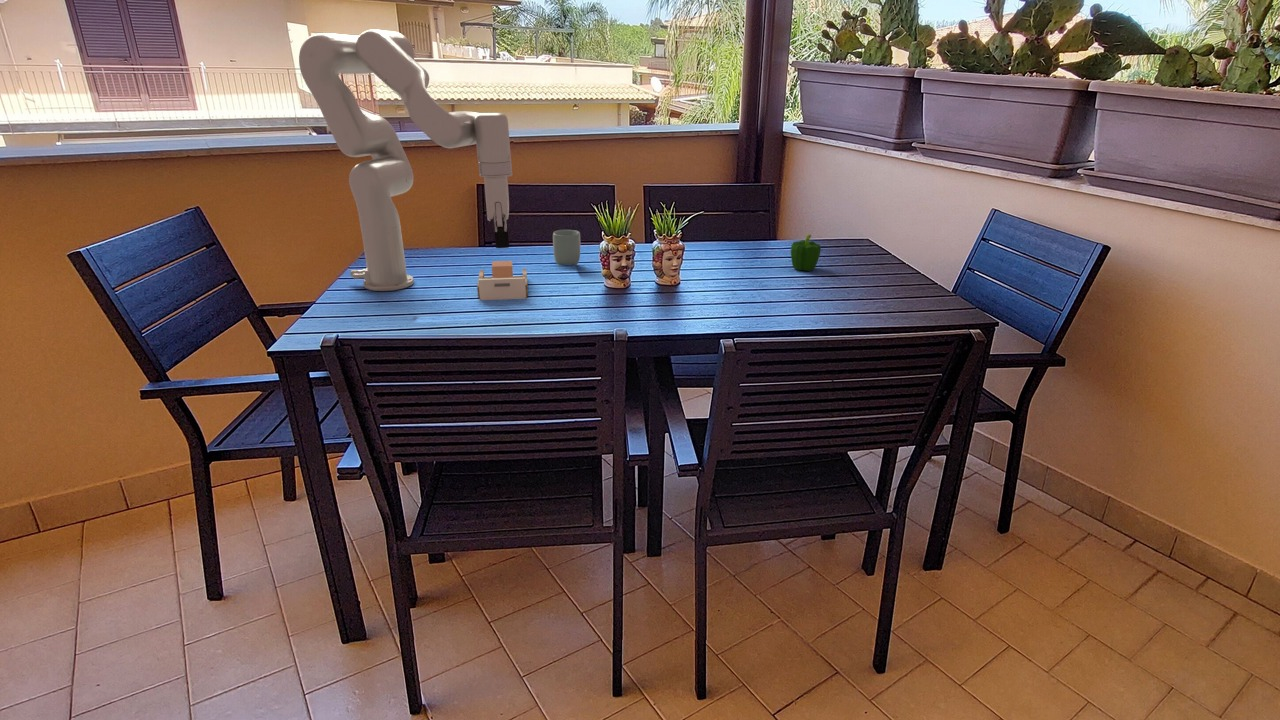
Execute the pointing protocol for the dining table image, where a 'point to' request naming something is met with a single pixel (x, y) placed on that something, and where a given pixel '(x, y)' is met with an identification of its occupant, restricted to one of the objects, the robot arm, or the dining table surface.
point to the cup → (566, 247)
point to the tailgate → (502, 288)
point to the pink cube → (502, 269)
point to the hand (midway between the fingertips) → (502, 247)
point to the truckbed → (481, 276)
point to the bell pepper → (805, 254)
